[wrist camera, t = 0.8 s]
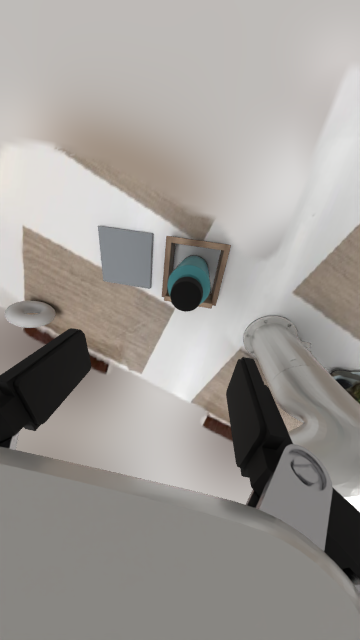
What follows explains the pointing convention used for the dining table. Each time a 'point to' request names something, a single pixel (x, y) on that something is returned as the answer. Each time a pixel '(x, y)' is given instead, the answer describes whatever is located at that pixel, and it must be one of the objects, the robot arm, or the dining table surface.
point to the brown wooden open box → (172, 240)
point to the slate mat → (126, 256)
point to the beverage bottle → (189, 283)
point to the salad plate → (349, 382)
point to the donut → (20, 318)
